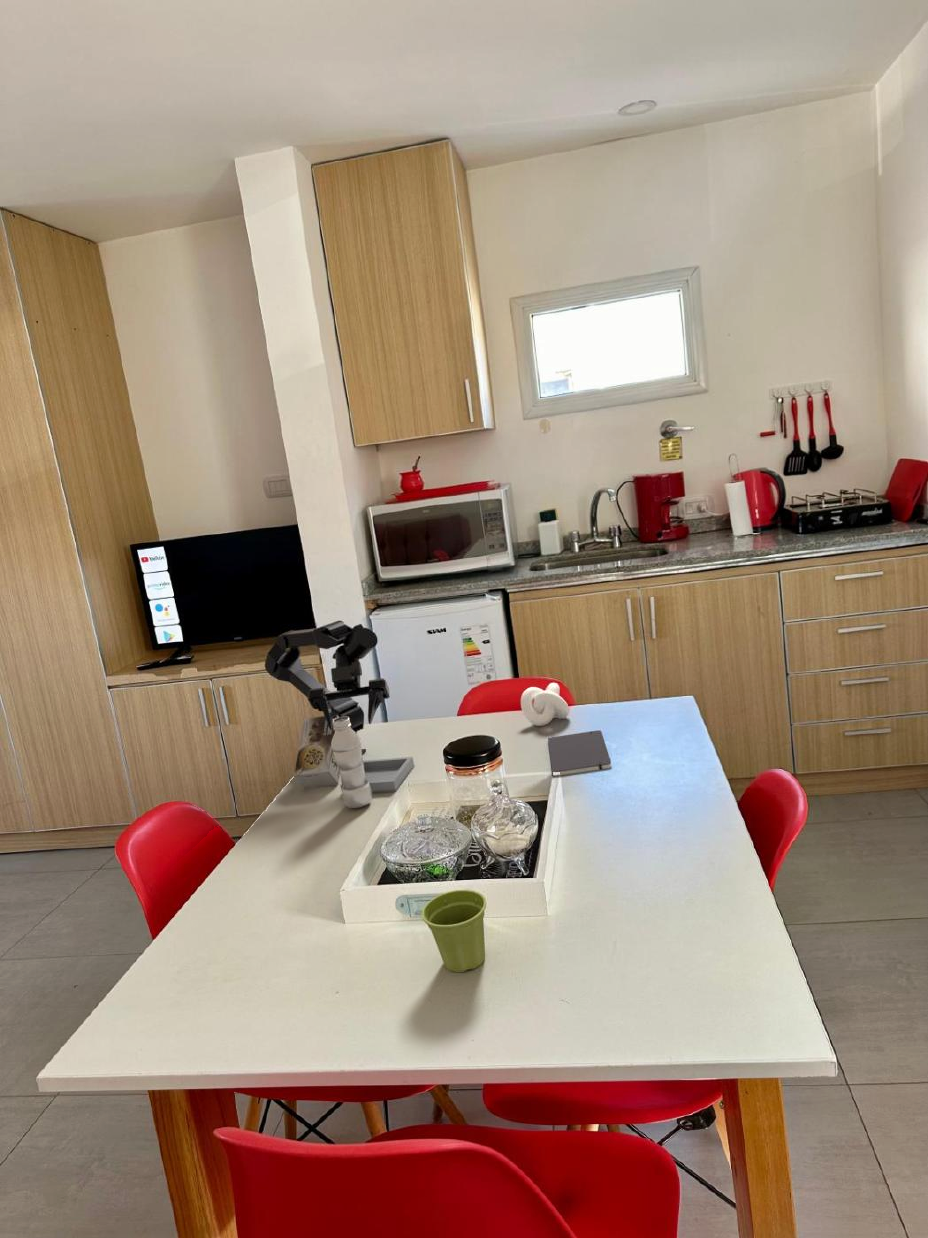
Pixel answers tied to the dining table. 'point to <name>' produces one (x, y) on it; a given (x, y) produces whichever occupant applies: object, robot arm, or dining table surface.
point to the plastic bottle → (350, 764)
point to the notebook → (578, 752)
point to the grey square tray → (387, 773)
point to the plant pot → (458, 928)
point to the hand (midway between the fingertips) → (350, 726)
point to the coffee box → (316, 754)
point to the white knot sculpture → (543, 705)
